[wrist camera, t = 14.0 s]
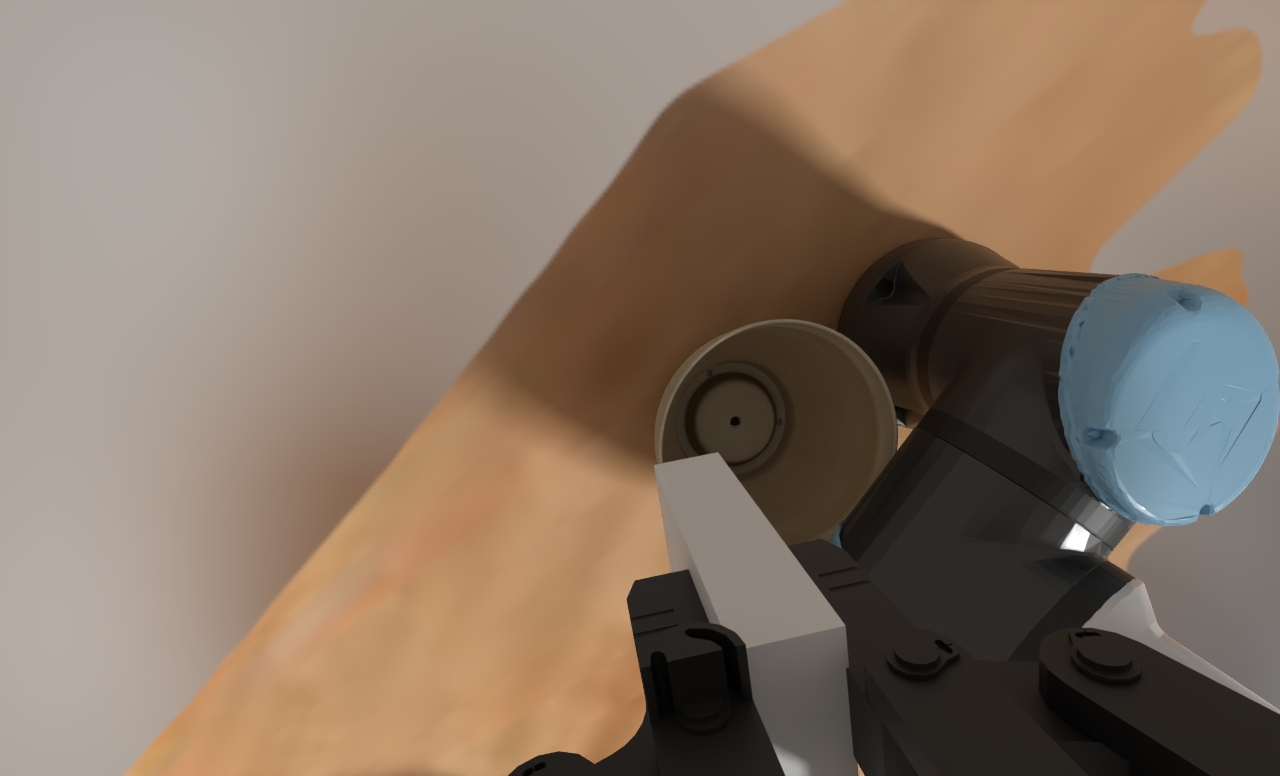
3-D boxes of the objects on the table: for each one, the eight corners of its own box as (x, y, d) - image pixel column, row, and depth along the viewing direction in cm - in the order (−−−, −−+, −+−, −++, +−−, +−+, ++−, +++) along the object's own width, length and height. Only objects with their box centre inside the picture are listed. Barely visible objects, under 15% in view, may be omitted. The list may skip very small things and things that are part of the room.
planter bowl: (821, 509, 53) (893, 559, 42) (632, 519, 50) (658, 575, 40) (828, 317, 51) (906, 318, 40) (631, 317, 48) (659, 319, 38)
